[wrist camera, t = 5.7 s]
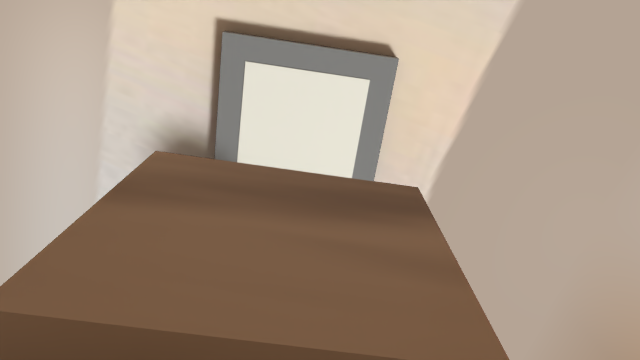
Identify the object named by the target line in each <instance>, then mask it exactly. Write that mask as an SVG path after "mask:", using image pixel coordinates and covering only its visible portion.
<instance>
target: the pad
mask: <svg viewBox="0 0 640 360" xmlns="http://www.w3.org/2000/svg"><path fill="white" fill-rule="evenodd" d="M398 60H399V59H398V58H397V57H391V56H385V55H378V54H372V53H365V52H358V51H352V50H345V49H339V48H332V47H326V46H319V45H313V44H306V43H300V42H293V41H286V40H280V39H273V38H267V37H260V36H254V35H247V34H241V33H234V32H228V31H224V32H223V33H222V49H221V65H220V81H219V97H218V113H217V129H216V145H215V159H217V160H224V161H231V162H239V163H246V164H253V165H260V166H267V167H274V168H282V169H289V170H296V171H303V172H310V173H318V174H325V175H332V176H339V177H346V178H354V179H361V180H368V181H374V177H375V172H376V167H377V163H378V158H379V153H380V148H381V143H382V138H383V133H384V129H385V124H386V119H387V114H388V109H389V104H390V99H391V94H392V90H393V85H394V80H395V75H396V70H397V65H398Z"/></svg>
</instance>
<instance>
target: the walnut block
mask: <svg viewBox="0 0 640 360" xmlns="http://www.w3.org/2000/svg"><path fill="white" fill-rule="evenodd" d="M0 360H509V358H508V356H507V354H506V353H505V351H504V349H503V347H502V345H501V343H500V341H499V339H498V337H497V336H496V334H495V332H494V330H493V328H492V326H491V324H490V323H489V321H488V319H487V317H486V315H485V313H484V311H483V309H482V307H481V306H480V304H479V302H478V300H477V298H476V296H475V294H474V293H473V290H472V289H471V287H470V285H469V283H468V281H467V279H466V277H465V275H464V273H463V272H462V270H461V268H460V266H459V264H458V262H457V260H456V258H455V257H454V255H453V253H452V251H451V249H450V247H449V245H448V243H447V241H446V240H445V238H444V236H443V234H442V232H441V230H440V228H439V226H438V225H437V223H436V221H435V219H434V217H433V215H432V213H431V211H430V209H429V207H428V206H427V204H426V202H425V200H424V198H423V196H422V194H421V192H420V191H419V189H418V187H411V186H404V185H397V184H390V183H382V182H375V181H368V180H361V179H354V178H346V177H339V176H332V175H325V174H318V173H310V172H303V171H296V170H289V169H282V168H274V167H267V166H260V165H253V164H246V163H239V162H231V161H224V160H217V159H210V158H203V157H195V156H188V155H181V154H174V153H167V152H159V151H155V152H154V153H153V154H152V155H151V156H149V157H148V158H147V159H146V160H145V161H144V162H143V163H141V164H140V165H139V166H138V167H137V168H136V169H135V170H133V171H132V172H131V173H130V174H129V175H128V176H126V177H125V178H124V179H123V180H122V181H121V182H120V183H118V184H117V185H116V186H115V187H114V188H113V189H112V190H110V191H109V192H108V193H107V194H106V195H105V196H104V197H102V198H101V199H100V200H99V201H98V202H97V203H96V204H94V205H93V206H92V207H91V208H90V209H89V210H88V211H86V212H85V213H84V214H83V215H82V216H81V217H80V218H78V219H77V220H76V221H75V222H74V223H73V224H72V225H70V226H69V227H68V228H67V229H66V230H65V231H63V232H62V233H61V234H60V235H59V236H58V237H57V238H55V239H54V240H53V241H52V242H51V243H50V244H49V245H47V246H46V247H45V248H44V249H43V250H42V251H41V252H40V253H38V254H37V255H36V256H35V257H34V258H33V259H31V260H30V261H29V262H28V263H27V264H26V265H25V266H23V267H22V268H21V269H20V270H19V271H18V272H17V273H15V274H14V275H13V276H12V277H11V278H10V279H8V280H7V281H6V282H5V283H4V284H3V285H2V286H0Z"/></svg>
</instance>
